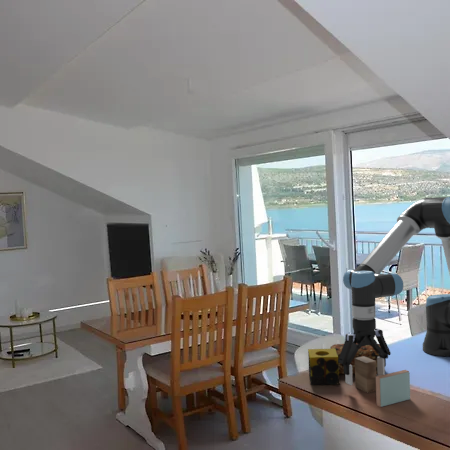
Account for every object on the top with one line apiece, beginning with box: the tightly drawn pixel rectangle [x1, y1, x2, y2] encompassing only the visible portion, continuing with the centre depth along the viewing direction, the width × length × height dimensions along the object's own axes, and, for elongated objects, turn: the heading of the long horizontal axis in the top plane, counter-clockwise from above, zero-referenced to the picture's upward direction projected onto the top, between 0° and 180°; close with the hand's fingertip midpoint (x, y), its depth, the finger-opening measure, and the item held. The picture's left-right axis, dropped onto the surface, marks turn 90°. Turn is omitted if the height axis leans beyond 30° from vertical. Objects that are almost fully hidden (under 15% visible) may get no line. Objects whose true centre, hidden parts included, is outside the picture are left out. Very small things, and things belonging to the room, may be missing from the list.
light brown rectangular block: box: [354, 356, 377, 394], centre depth 170 cm, size 4×6×10 cm, turn 25°
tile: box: [375, 369, 411, 408], centre depth 158 cm, size 12×2×9 cm, turn 115°
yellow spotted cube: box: [307, 348, 340, 386], centre depth 180 cm, size 10×10×10 cm
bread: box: [329, 343, 381, 375], centre depth 188 cm, size 19×11×10 cm, turn 79°
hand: (365, 380), depth 170 cm, fingers open, 13 cm apart
